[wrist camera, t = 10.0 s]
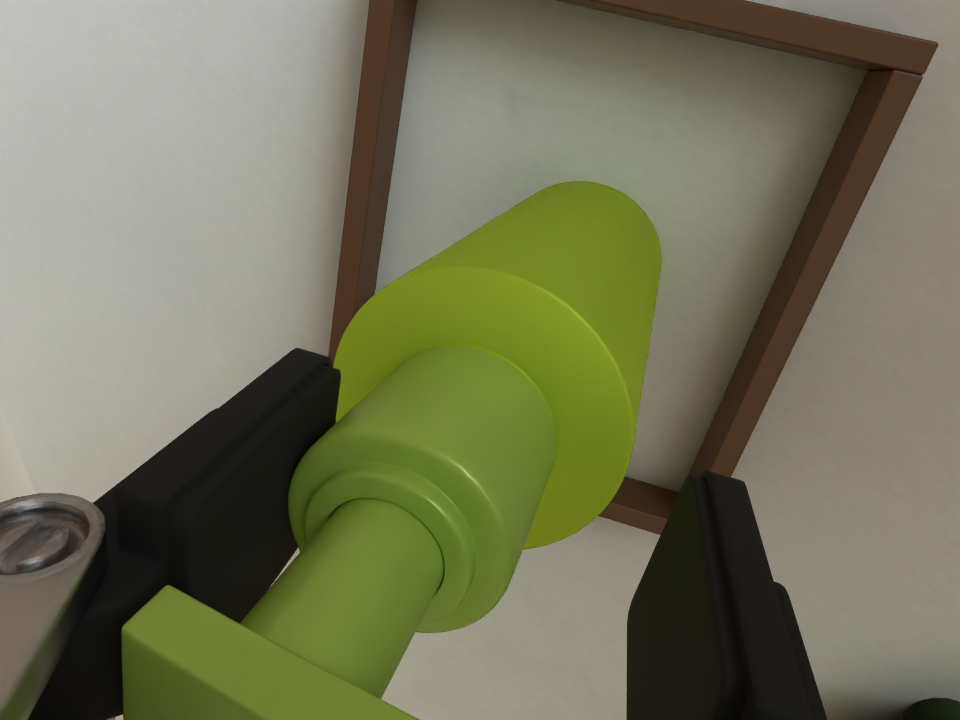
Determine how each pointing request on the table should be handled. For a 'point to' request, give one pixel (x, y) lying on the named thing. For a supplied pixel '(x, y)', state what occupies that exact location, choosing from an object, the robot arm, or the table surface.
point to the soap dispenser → (431, 466)
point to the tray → (820, 235)
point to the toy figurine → (934, 710)
